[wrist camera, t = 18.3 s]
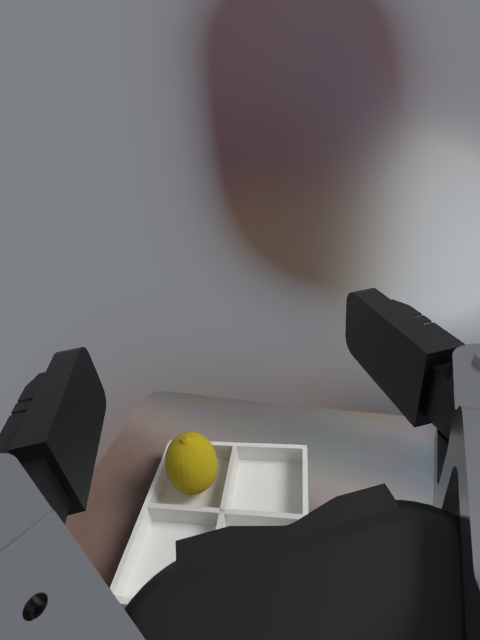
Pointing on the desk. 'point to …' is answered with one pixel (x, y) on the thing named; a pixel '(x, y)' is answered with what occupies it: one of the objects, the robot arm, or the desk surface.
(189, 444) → the lemon
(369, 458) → the desk surface
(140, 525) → the divided tray
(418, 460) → the desk surface
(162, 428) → the desk surface
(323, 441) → the desk surface
